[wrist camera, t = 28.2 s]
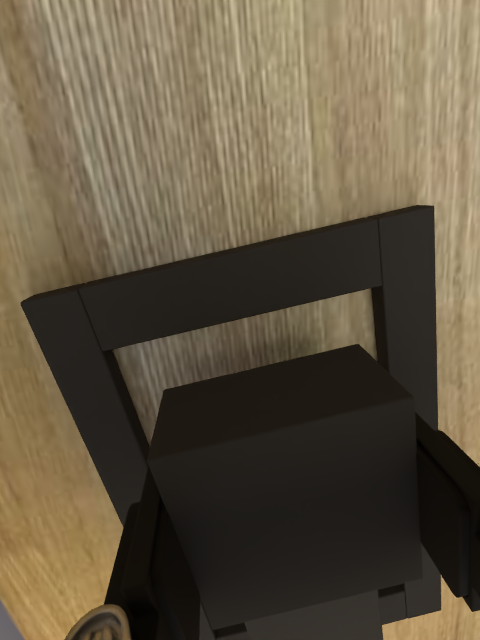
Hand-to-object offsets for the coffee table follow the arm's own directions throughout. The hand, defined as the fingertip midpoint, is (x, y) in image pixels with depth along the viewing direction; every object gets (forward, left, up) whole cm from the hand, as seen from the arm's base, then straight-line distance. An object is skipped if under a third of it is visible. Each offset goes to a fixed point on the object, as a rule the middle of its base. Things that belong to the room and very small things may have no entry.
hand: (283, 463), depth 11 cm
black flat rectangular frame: (0, -5, -4) cm, 6 cm away
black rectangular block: (0, 0, -1) cm, 1 cm away
